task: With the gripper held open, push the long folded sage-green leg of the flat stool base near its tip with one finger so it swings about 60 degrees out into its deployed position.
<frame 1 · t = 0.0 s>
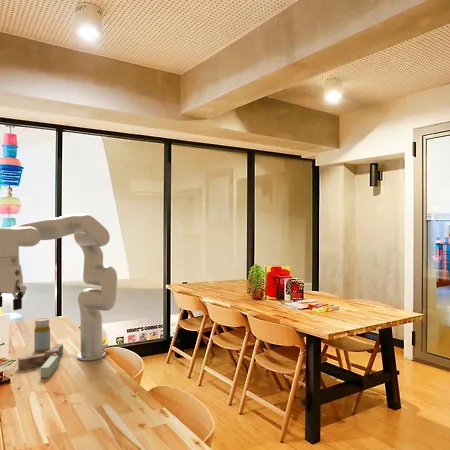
hand: (7, 308, 150), 31 cm above the table, fingers open, 9 cm apart
bottle: (42, 350, 202), on the table
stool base: (52, 362, 184), on the table
hinged leg: (50, 364, 173), point 3 cm above the table, hinge at 0.0°
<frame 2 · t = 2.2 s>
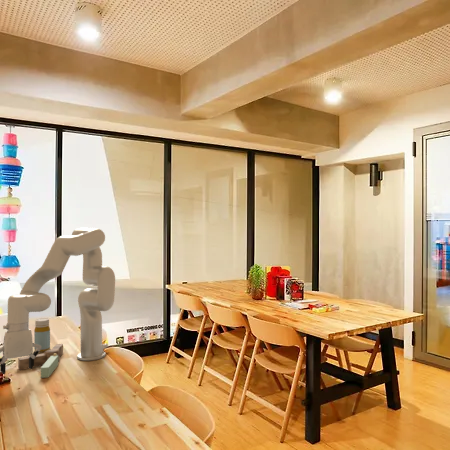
hand: (17, 370, 161), 5 cm above the table, fingers open, 9 cm apart
nothing on the table moved.
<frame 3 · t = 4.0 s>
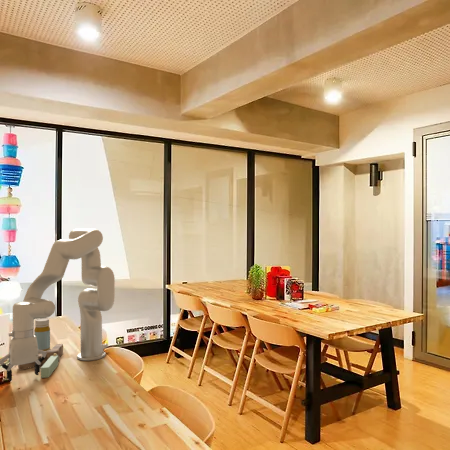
hand: (23, 377, 163), 1 cm above the table, fingers open, 9 cm apart
hinged leg: (50, 364, 173), point 3 cm above the table, hinge at 0.2°, touching gripper
everything else where it was.
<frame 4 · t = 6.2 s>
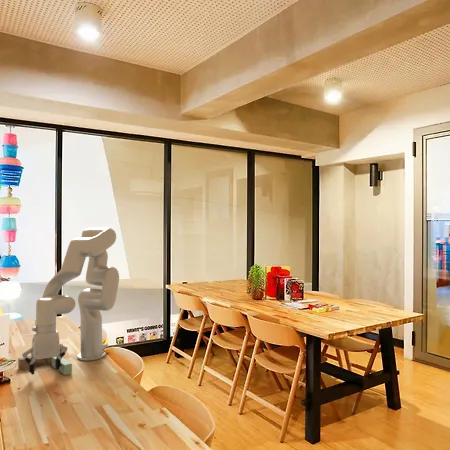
hand: (45, 371, 167), 2 cm above the table, fingers open, 9 cm apart
hinged leg: (61, 363, 175), point 3 cm above the table, hinge at 33.7°, touching gripper
everything else where it was.
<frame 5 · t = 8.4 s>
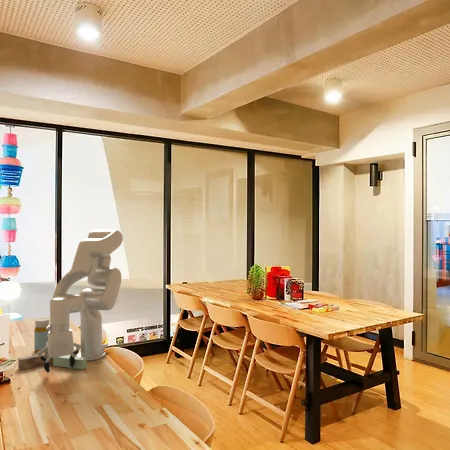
hand: (59, 369, 171), 2 cm above the table, fingers open, 9 cm apart
hinged leg: (68, 360, 178), point 3 cm above the table, hinge at 64.0°, touching gripper
everything else where it was.
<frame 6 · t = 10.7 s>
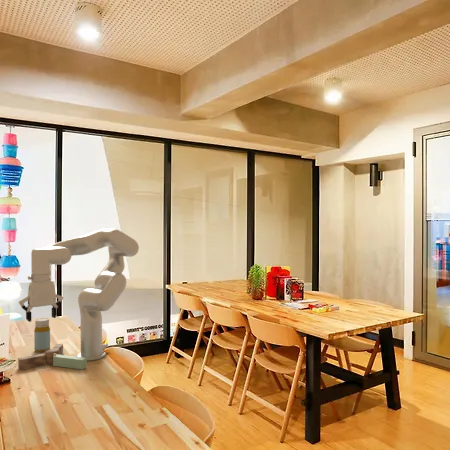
hand: (41, 319, 171), 22 cm above the table, fingers open, 9 cm apart
hinged leg: (68, 360, 178), point 3 cm above the table, hinge at 64.1°
everything else where it was.
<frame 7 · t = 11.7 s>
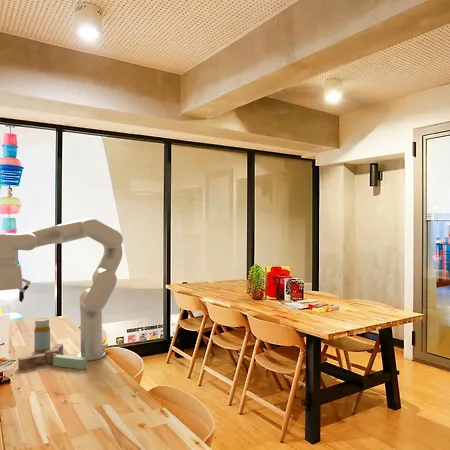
hand: (8, 302, 176), 28 cm above the table, fingers open, 9 cm apart
nothing on the table moved.
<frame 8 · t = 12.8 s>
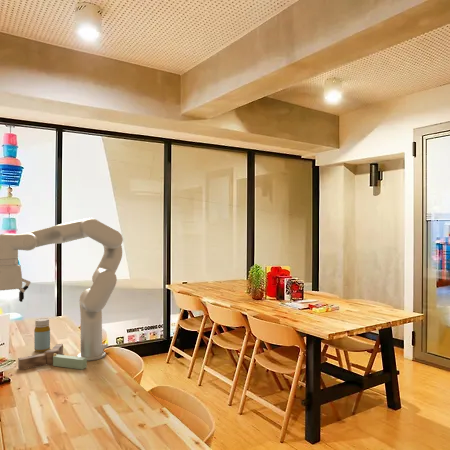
hand: (8, 302, 176), 28 cm above the table, fingers open, 9 cm apart
nothing on the table moved.
at the end: hinged leg at +64° (first picture: +0°); bottle moved 0.2 cm from its start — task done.
